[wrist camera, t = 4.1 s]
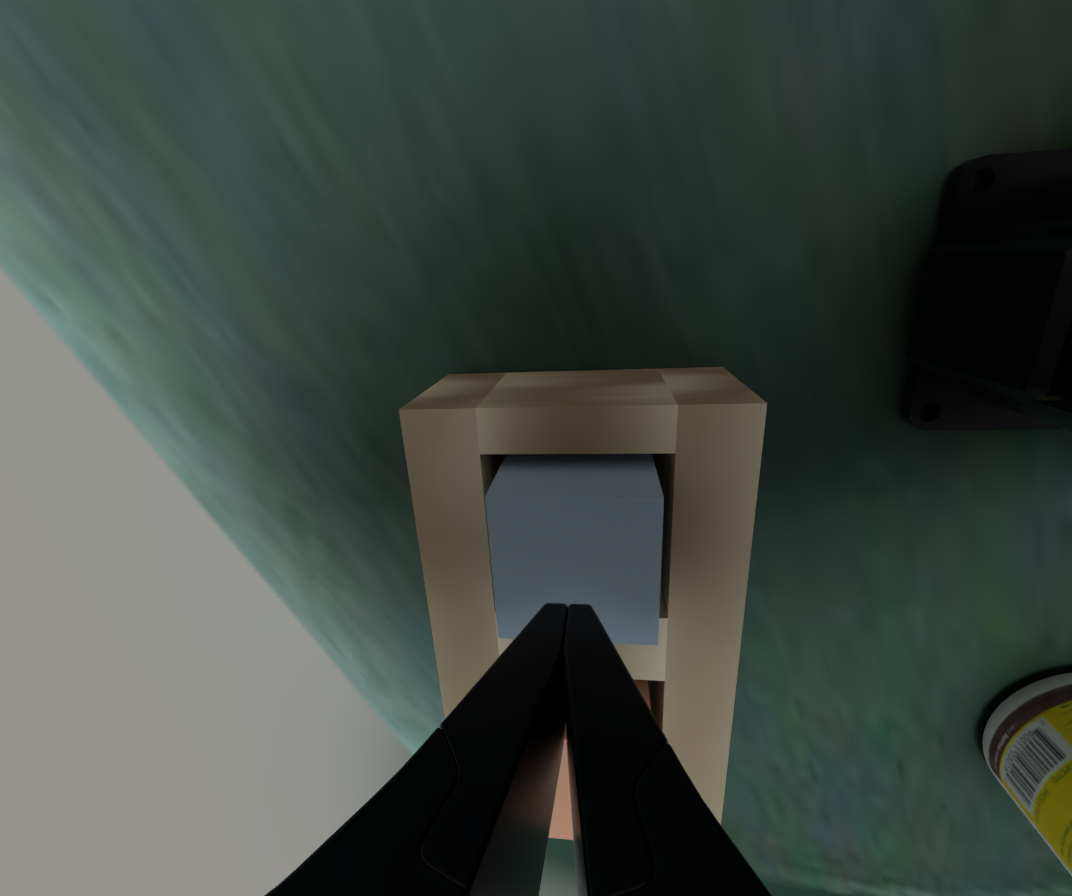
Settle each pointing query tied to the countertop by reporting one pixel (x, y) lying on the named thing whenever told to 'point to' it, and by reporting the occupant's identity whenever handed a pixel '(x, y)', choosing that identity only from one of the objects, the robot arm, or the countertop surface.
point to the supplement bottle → (1037, 757)
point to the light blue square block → (578, 540)
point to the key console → (688, 524)
